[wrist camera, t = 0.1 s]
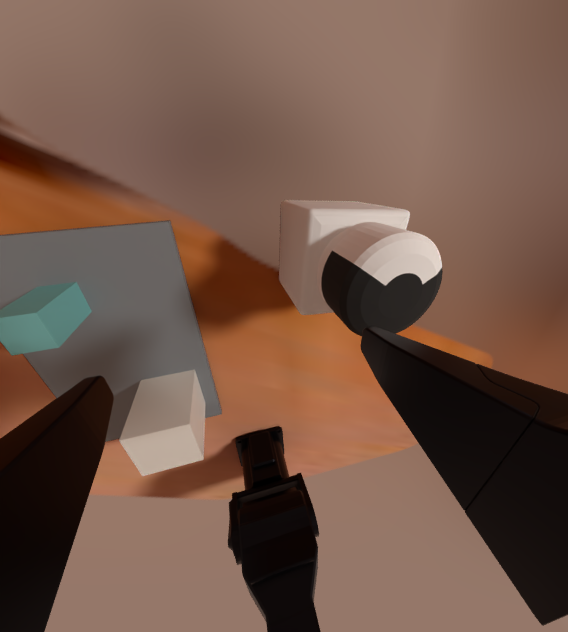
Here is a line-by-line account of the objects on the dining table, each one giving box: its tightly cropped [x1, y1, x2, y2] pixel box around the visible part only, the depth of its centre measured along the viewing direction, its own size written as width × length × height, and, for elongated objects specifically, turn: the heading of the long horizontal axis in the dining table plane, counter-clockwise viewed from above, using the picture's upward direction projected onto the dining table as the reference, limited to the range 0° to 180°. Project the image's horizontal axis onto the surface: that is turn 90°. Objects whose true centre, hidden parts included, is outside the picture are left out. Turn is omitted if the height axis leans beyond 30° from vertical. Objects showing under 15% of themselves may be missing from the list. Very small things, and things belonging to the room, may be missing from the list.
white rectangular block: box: [119, 370, 205, 476], centre depth 23 cm, size 5×5×7 cm
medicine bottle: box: [279, 200, 442, 336], centre depth 17 cm, size 7×7×12 cm
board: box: [0, 220, 222, 442], centre depth 23 cm, size 22×14×1 cm, turn 3°
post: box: [0, 282, 92, 355], centre depth 17 cm, size 3×3×5 cm
